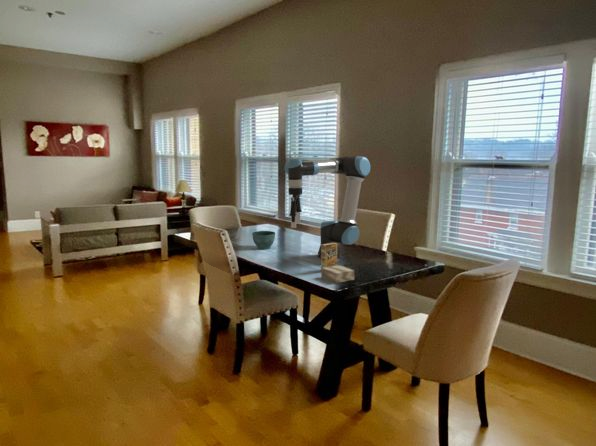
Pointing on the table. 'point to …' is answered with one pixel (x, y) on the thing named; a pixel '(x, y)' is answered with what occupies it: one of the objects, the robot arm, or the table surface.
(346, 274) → the birch stand
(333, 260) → the candy box
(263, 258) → the table surface
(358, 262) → the table surface
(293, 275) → the table surface
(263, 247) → the flower pot
